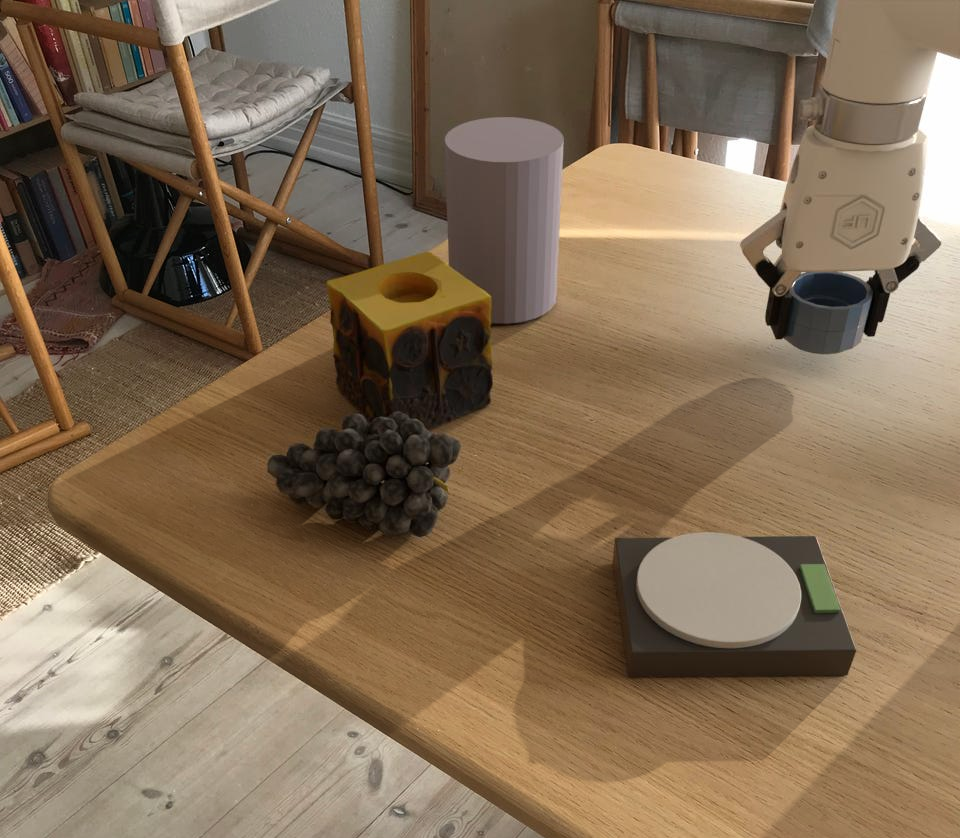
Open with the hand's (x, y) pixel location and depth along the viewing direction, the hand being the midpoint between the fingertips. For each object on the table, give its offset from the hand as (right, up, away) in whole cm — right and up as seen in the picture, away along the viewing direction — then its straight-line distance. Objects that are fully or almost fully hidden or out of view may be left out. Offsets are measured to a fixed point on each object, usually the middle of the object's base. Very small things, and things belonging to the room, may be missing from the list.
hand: (821, 329), depth 91 cm
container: (-28, +6, +10) cm, 30 cm away
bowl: (0, -1, +1) cm, 1 cm away
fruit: (-38, -17, -12) cm, 44 cm away
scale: (-13, -26, -21) cm, 35 cm away
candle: (-35, -7, -2) cm, 36 cm away
